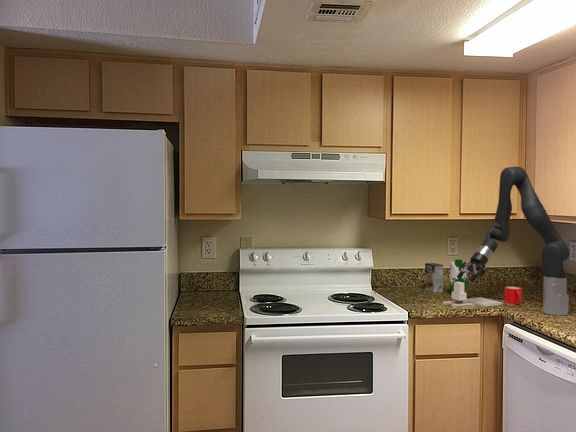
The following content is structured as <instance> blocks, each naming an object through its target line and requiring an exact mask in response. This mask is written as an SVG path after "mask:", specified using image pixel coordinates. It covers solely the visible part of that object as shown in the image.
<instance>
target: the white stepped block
mask: <svg viewBox="0 0 576 432" xmlns="http://www.w3.org/2000/svg"><path fill="white" fill-rule="evenodd" d="M455 292H456V293H455ZM467 295H468V294H467V292H466V293H465V292H464V283H462V282H454V292H452V293H451V299H452V300H454V301H455V300H458V301H460V300H467V299H468V297H467Z"/></svg>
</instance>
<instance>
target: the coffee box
mask: <svg viewBox="0 0 576 432" xmlns="http://www.w3.org/2000/svg"><path fill="white" fill-rule="evenodd" d="M424 265H425V266H424V268H425V269H424V273H425V274H424V275H425V276H424V283H425V284H424V290H425V291H429V292H432V293H443V291H444V290H443V288H444V264H440V263H435V262H425V264H424Z"/></svg>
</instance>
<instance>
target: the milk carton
mask: <svg viewBox="0 0 576 432" xmlns="http://www.w3.org/2000/svg"><path fill="white" fill-rule="evenodd" d="M463 262H464V261H463V259H460V258H459V259H458V258H455V259H454V261H450V264H449V288H450V293H451V294H452V292H454V282H462V283H464V292H465V293H467V292H466V291H467V274H468V273H465V274H464V275H463V276H462V278H461V279H458V278H457V275H458V274H459V272H460V271H459V270H458V269H459V267H460V266H461V265H462V264H463ZM461 269H462V268H461ZM464 271H465V270H464ZM464 271H463V272H464Z"/></svg>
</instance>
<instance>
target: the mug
mask: <svg viewBox="0 0 576 432" xmlns="http://www.w3.org/2000/svg"><path fill="white" fill-rule="evenodd" d="M522 299H523V288H522V287H519V286H514V285H513V286H512V285H511V286H510V285H508V286H507V285H506V286H504V303H506V304H509V305H522V303H523V301H522Z"/></svg>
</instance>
